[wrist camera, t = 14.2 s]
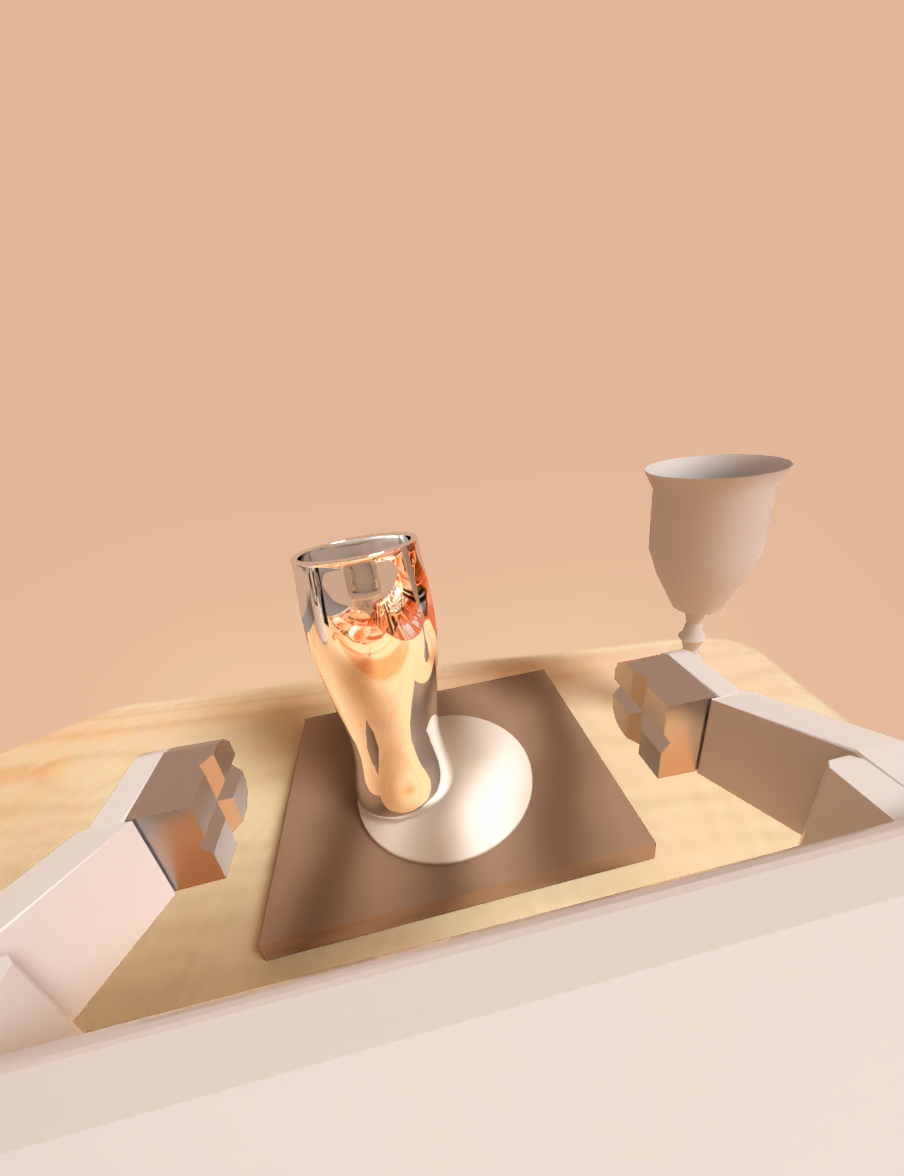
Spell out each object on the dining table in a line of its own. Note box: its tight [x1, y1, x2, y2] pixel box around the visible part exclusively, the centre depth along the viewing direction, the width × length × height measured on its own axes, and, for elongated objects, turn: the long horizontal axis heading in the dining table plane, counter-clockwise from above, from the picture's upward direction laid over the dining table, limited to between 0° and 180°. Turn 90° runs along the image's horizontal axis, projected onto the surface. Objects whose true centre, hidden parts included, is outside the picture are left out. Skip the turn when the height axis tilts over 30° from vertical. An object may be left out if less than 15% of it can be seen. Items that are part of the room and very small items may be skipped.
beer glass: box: [291, 532, 454, 819], centre depth 25 cm, size 7×7×15 cm
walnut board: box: [258, 670, 656, 961], centre depth 29 cm, size 20×16×2 cm
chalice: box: [645, 454, 793, 662], centre depth 28 cm, size 7×7×18 cm
